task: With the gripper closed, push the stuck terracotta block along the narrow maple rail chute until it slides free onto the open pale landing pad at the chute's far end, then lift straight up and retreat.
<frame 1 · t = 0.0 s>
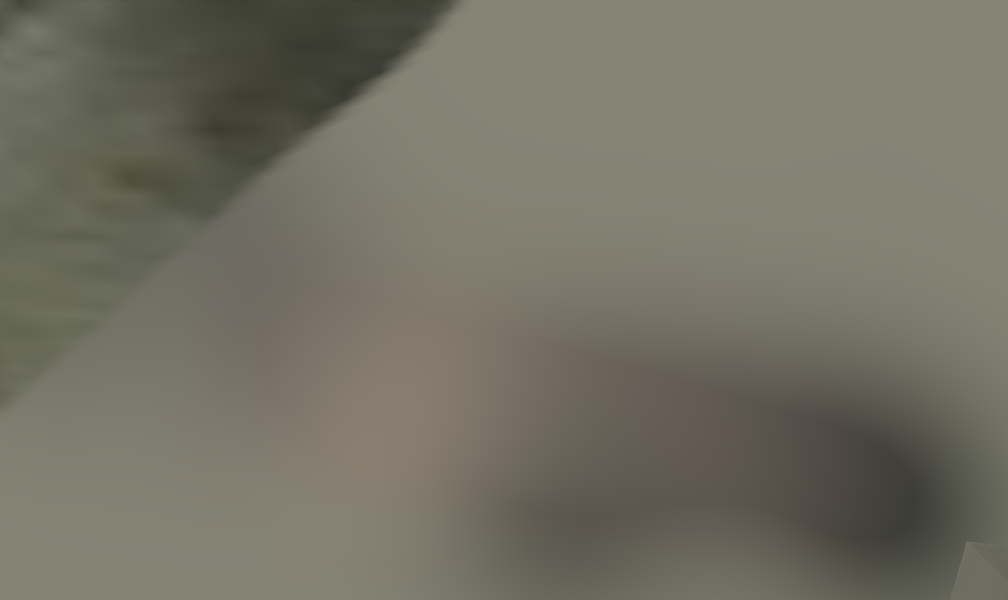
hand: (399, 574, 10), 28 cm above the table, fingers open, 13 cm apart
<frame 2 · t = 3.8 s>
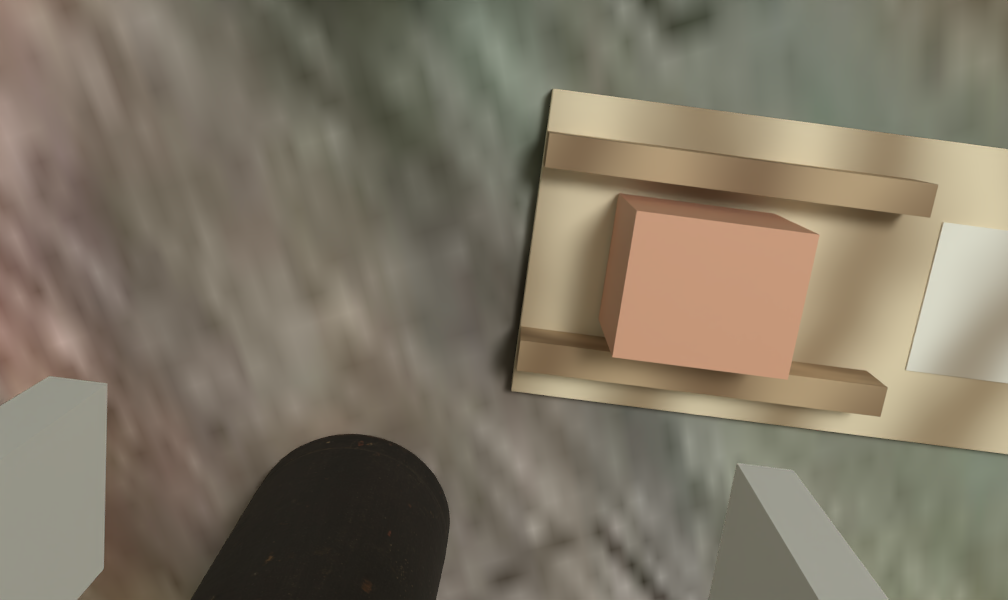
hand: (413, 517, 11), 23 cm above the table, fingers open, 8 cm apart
block: (698, 280, 31), point 4 cm above the table, slide at 0.0 cm
chute: (826, 280, 34), on the table
container: (354, 514, 37), on the table
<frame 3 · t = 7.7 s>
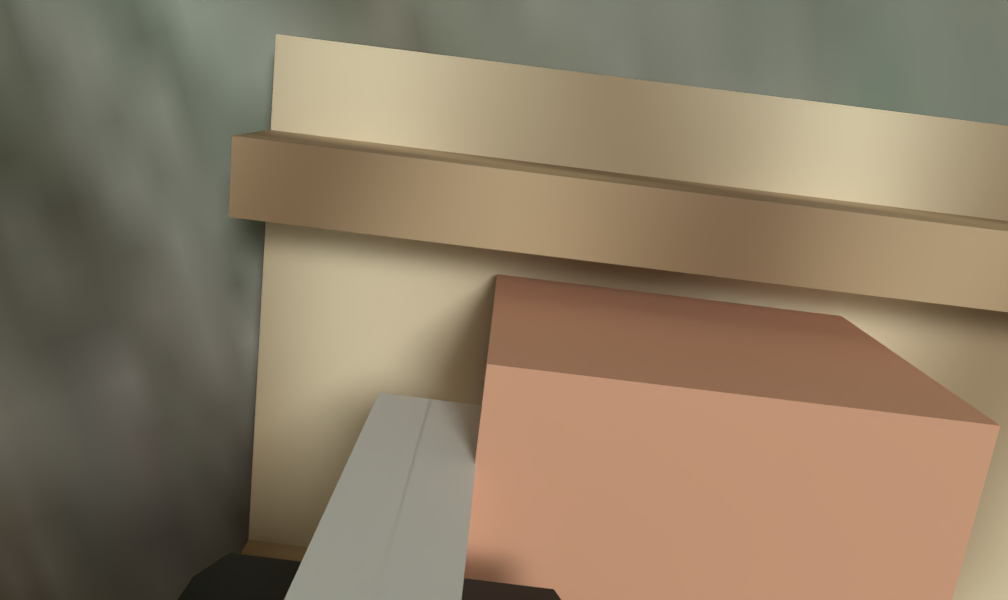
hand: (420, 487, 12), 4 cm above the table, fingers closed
block: (670, 493, 13), point 4 cm above the table, slide at 1.1 cm, touching gripper
chute: (888, 435, 17), on the table
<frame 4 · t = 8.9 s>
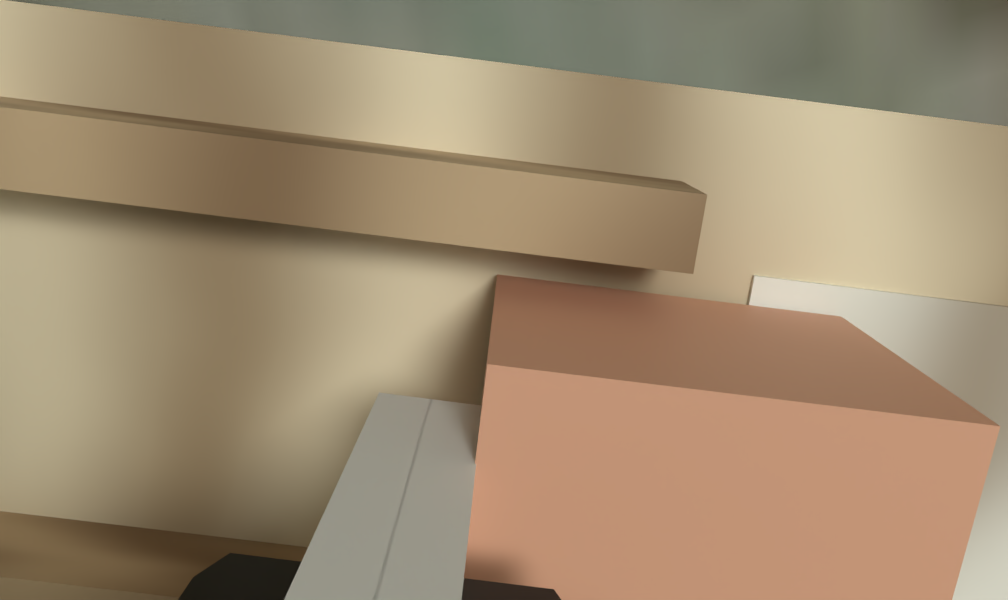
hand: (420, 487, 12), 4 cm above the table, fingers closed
block: (670, 493, 13), point 4 cm above the table, slide at 8.1 cm, touching gripper
chute: (530, 392, 16), on the table
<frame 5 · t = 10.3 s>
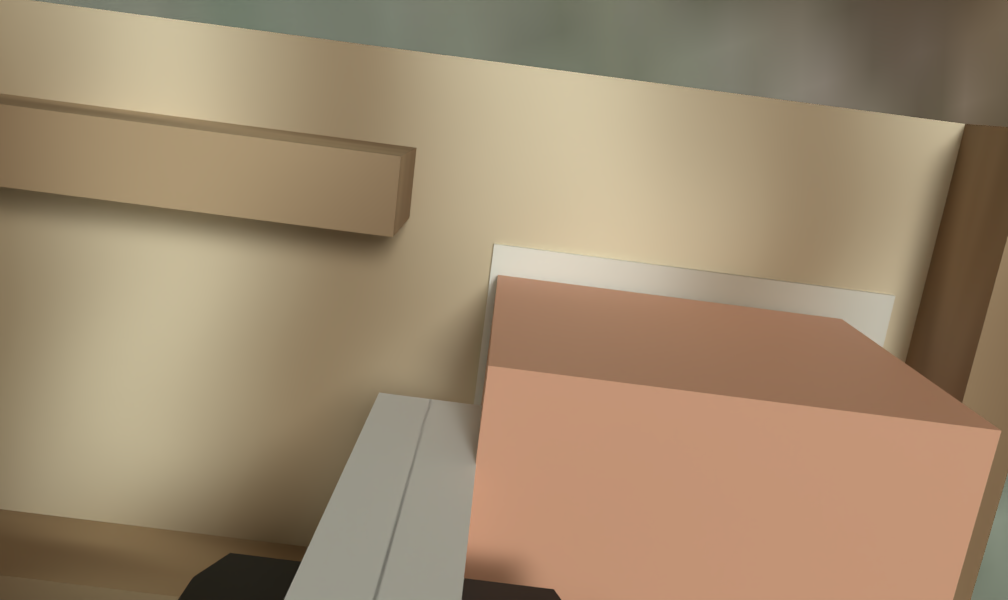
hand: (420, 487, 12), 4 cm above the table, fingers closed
block: (670, 495, 13), point 4 cm above the table, slide at 12.6 cm, touching gripper
chute: (295, 363, 16), on the table
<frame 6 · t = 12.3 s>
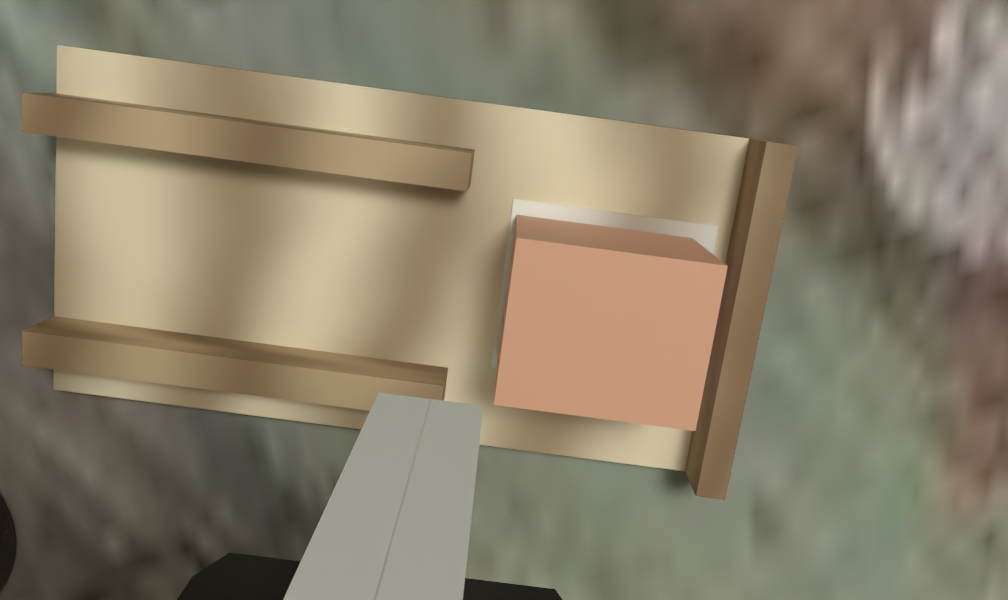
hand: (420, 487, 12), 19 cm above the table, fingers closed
block: (600, 315, 27), point 4 cm above the table, slide at 12.7 cm
chute: (405, 265, 30), on the table
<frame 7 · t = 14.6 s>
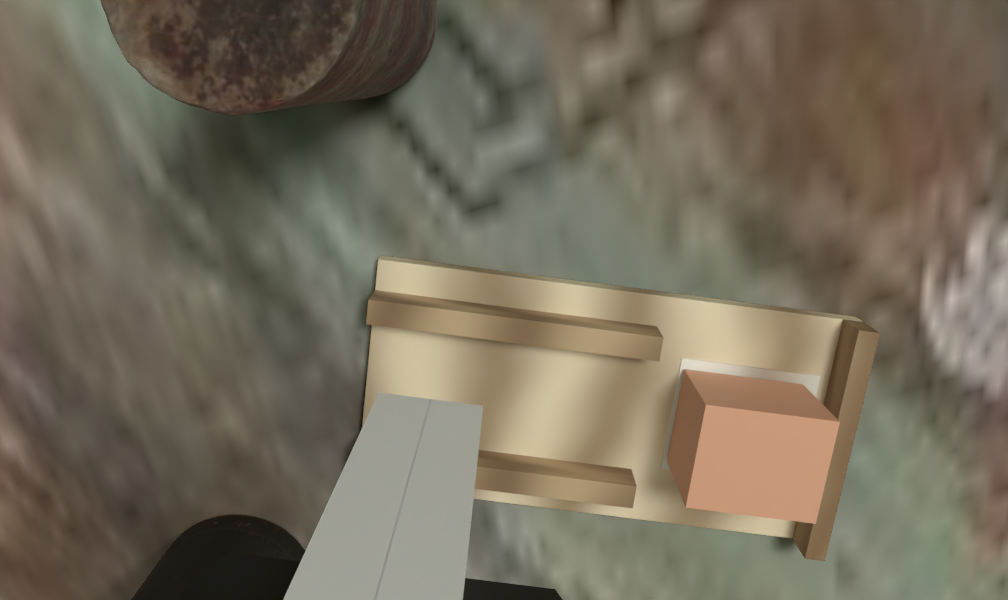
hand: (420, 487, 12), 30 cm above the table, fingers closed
block: (747, 443, 41), point 4 cm above the table, slide at 12.7 cm
candle: (361, 20, 40), on the table
chute: (600, 398, 44), on the table
container: (241, 576, 47), on the table
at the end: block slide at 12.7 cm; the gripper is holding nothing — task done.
